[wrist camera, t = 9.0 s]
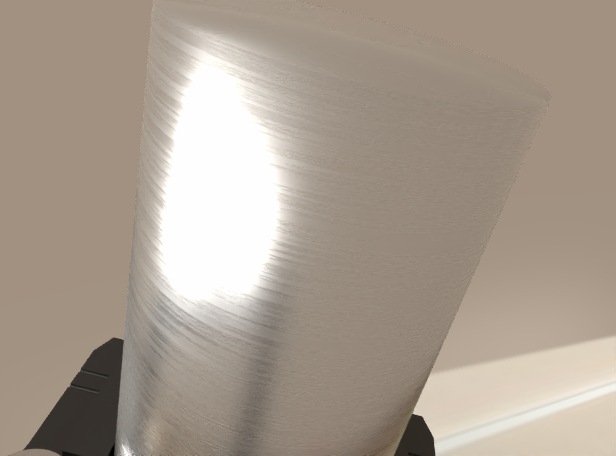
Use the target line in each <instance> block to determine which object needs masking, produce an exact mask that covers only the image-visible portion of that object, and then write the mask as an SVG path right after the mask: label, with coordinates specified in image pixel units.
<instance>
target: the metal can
mask: <svg viewBox="0 0 616 456" xmlns="http://www.w3.org/2000/svg"><path fill="white" fill-rule="evenodd" d="M148 52H149V53H148V63H147V75H146V86H145V87H146V88H145V98H144V111H143V122H142V133H141V145H140V157H139V169H138V181H137V192H136V204H135V216H134V229H133V240H132V251H131V263H130V275H129V287H128V299H127V310H126V322H125V335H124V345H123V357H122V369H121V381H120V393H119V404H118V416H117V428H116V440H115V451H114V456H394V454H395V451H396V449H397V447H398V445H399V442H400V440H401V438H402V436H403V433H404V431H405V429H406V426H407V424H408V422H409V420H410V417H411V415H412V413H413V411H414V408H415V406H416V404H417V402H418V399H419V397H420V395H421V393H422V390H423V388H424V386H425V383H426V381H427V379H428V377H429V374H430V372H431V370H432V368H433V365H434V363H435V361H436V358H437V356H438V354H439V352H440V350H441V347H442V345H443V343H444V340H445V338H446V336H447V334H448V331H449V329H450V327H451V324H452V322H453V320H454V318H455V315H456V313H457V311H458V309H459V306H460V304H461V302H462V300H463V297H464V295H465V293H466V291H467V288H468V286H469V284H470V282H471V279H472V277H473V275H474V273H475V270H476V268H477V266H478V264H479V261H480V259H481V257H482V254H483V252H484V250H485V248H486V245H487V243H488V241H489V238H490V236H491V234H492V232H493V230H494V227H495V225H496V223H497V221H498V218H499V216H500V213H501V211H502V209H503V207H504V205H505V202H506V200H507V198H508V195H509V193H510V191H511V189H512V187H513V184H514V182H515V180H516V178H517V175H518V173H519V170H520V168H521V166H522V164H523V162H524V159H525V157H526V155H527V152H528V150H529V148H530V146H531V143H532V141H533V139H534V137H535V135H536V132H537V130H538V127H539V125H540V123H541V121H542V119H543V116H544V114H545V112H546V110H547V107H548V105H549V102H550V100H551V94H550V92H549V91H548V90H547V89H546V88H545V87H544V86H543V85H542V84H540V83H539V82H538V81H536V80H535V79H533V78H531V77H529V76H528V75H526V74H524V73H522V72H521V71H518V70H517V69H514V68H513V67H511V66H508V65H506V64H504V63H502V62H499V61H497V60H495V59H492V58H490V57H487V56H485V55H483V54H480V53H477V52H475V51H472V50H470V49H467V48H464V47H462V46H459V45H456V44H453V43H450V42H447V41H444V40H441V39H438V38H436V37H432V36H429V35H426V34H423V33H420V32H417V31H413V30H410V29H407V28H403V27H400V26H397V25H393V24H390V23H386V22H382V21H379V20H375V19H371V18H367V17H364V16H360V15H356V14H352V13H348V12H344V11H339V10H335V9H331V8H327V7H323V6H318V5H313V4H309V3H304V2H299V1H293V0H153V5H152V16H151V28H150V39H149V51H148Z"/></svg>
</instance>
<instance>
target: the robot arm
mask: <svg viewBox="0 0 616 456" xmlns="http://www.w3.org/2000/svg"><path fill="white" fill-rule="evenodd" d="M123 345H124V340H122V339H118V338H112V339H111V340H109V341H108V342H106V343H105V344H103V345H102V346H100V347H99V348H97V349H95V350H94V351H93V352H92V354H91V355H90V357H89V358H88V359H87V361H86V363H85V364H84V365H83V367H82V368H81V371H80V372H79V373H78V374H77V375H76V377H75V378H74V380H73V381H72V382H71V385H70V387H68V388H67V389H66V391H65V392H64V394H63V396H62V397H61V398H60V400H59V401H58V402H57V404H56V405H55V407H54V408H53V410H52V411H51V412H50V414H49V415H48V417H47V418H46V420H45V421H44V422H43V424H42V425H41V427H40V428H39V430H38V431H37V433H36V434H35V435H34V437H33V438H32V440H31V441H30V442H29V444H28V445H27V446H26V448H25V449H24V450H23V451H19V452H16V453H13V454H11V455H9V456H114V451H115V440H116V428H117V416H118V404H119V393H120V381H121V369H122V357H123ZM394 456H435V447H434V438H433V436H432V434H431V432H430V430H429V428H428V427H427V425H426V423H425V421H424V419H423V417H422V416H418V415H414V414H412V415H411V417H410V420H409V422H408V424H407V426H406V429H405V431H404V433H403V436H402V438H401V440H400V442H399V445H398V447H397V449H396V451H395V454H394Z"/></svg>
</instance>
